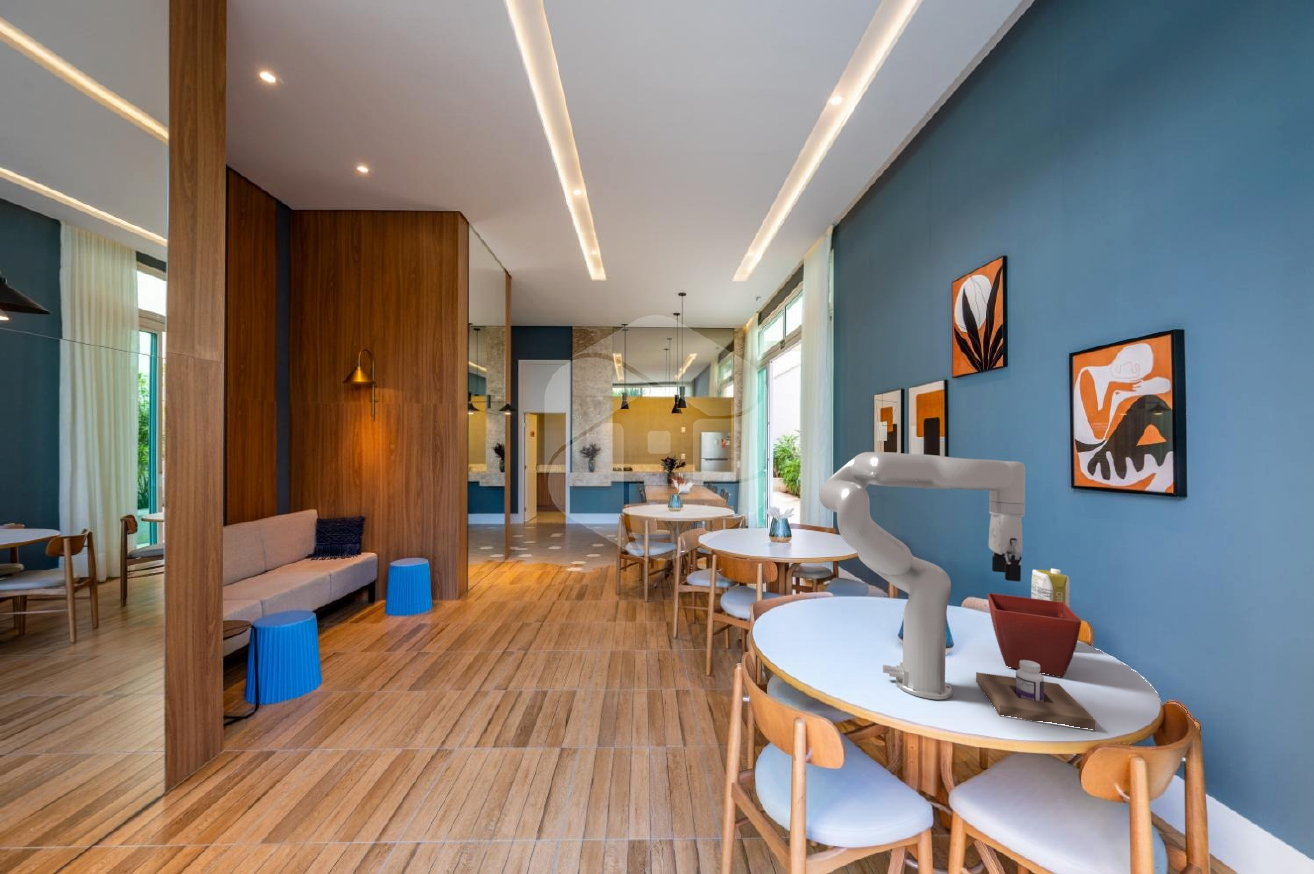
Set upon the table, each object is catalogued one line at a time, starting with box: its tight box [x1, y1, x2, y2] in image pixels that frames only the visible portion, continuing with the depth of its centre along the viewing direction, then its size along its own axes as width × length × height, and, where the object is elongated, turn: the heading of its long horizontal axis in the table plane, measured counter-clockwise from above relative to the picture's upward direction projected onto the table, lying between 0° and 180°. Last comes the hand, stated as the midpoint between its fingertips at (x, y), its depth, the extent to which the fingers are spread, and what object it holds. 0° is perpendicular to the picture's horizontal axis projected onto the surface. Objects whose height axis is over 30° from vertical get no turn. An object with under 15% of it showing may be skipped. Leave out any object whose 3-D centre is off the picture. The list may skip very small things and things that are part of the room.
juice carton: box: [1030, 568, 1071, 608], centre depth 160 cm, size 9×8×24 cm
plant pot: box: [987, 592, 1082, 678], centre depth 145 cm, size 19×19×17 cm
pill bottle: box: [1015, 660, 1045, 702], centre depth 122 cm, size 5×5×10 cm
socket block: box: [975, 671, 1097, 732], centre depth 122 cm, size 18×18×2 cm
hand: (1005, 576), depth 131 cm, fingers open, 9 cm apart
